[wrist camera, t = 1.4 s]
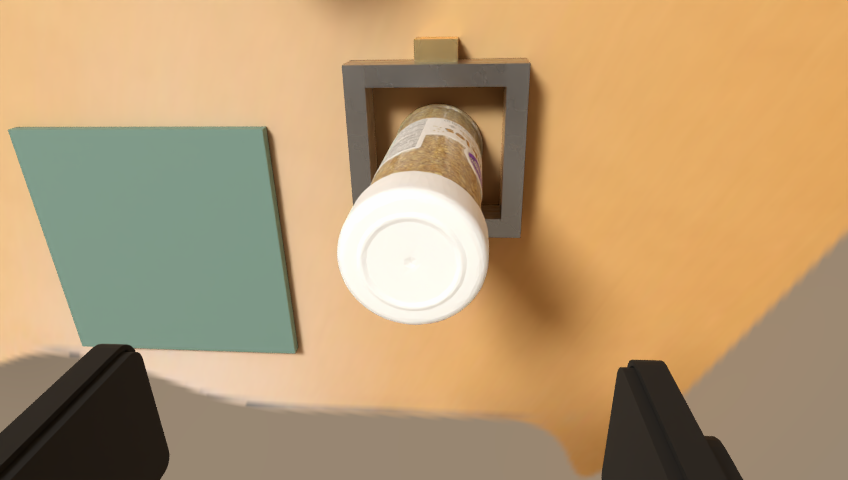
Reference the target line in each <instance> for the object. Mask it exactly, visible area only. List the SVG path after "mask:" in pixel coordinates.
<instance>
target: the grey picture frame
mask: <svg viewBox="0 0 848 480" xmlns="http://www.w3.org/2000/svg"><path fill="white" fill-rule="evenodd" d="M342 74H343V86H344V98H345V110H346V123H347V135H348V147H349V160H350V172H351V184H352V197H353V205H354V204H355V202H356V200H357V199H358V197H359V196H360V195H361V194H362V193H363V192H364V191H365V190H366V189H367V188H368V187H369V186H370V185H371V182H372V180H373V178H374V175H375V174H376V172H377V170H378V169H377V152H376V135H375V118H374V102H373V88H397V87H504V104H503V129H502V154H501V179H500V204H499V205H481V211H482V213H483V216H484V218H485V221H486V224H487V229H488V237H499V238H520V234H521V217H522V199H523V182H524V165H525V148H526V131H527V114H528V97H529V80H530V62H529V61H528V59H527V58H499V59H458V37H422V38H415V39H414V60H351V61H349V62H347V63H345V64H344V65H342Z"/></svg>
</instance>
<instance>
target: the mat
mask: <svg viewBox="0 0 848 480" xmlns="http://www.w3.org/2000/svg"><path fill="white" fill-rule="evenodd" d="M8 132H9V134H10V137H11V140H12V143H13V146H14V149H15V152H16V155H17V158H18V161H19V163H20V166H21V169H22V172H23V175H24V178H25V181H26V184H27V187H28V189H29V192H30V195H31V198H32V201H33V204H34V207H35V210H36V213H37V216H38V218H39V221H40V224H41V227H42V230H43V233H44V236H45V239H46V242H47V244H48V247H49V250H50V253H51V256H52V259H53V262H54V265H55V268H56V270H57V273H58V276H59V279H60V282H61V285H62V288H63V291H64V294H65V297H66V299H67V302H68V305H69V308H70V311H71V314H72V317H73V320H74V323H75V325H76V328H77V331H78V334H79V337H80V340H81V343H82V346H90V347H95V346H96V345H98V344H128V345H131V346H132V347H133V348H149V349H178V350H207V351H236V352H266V353H296V351H297V349H298V344H297V337H296V330H295V323H294V316H293V309H292V302H291V295H290V288H289V282H288V275H287V268H286V261H285V254H284V247H283V240H282V233H281V226H280V219H279V212H278V205H277V198H276V191H275V184H274V177H273V170H272V163H271V156H270V149H269V143H268V136H267V129H266V127H16V128H12V129H9V130H8Z"/></svg>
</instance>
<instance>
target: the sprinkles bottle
mask: <svg viewBox="0 0 848 480" xmlns="http://www.w3.org/2000/svg"><path fill="white" fill-rule="evenodd" d="M482 154H483V140H482V136H481V134H480V131H479V128H478V126H477V125H476V123H475V122H474V121H473V120H472V118H471V117H470V116H469V115H468V114H466V113H465V112H463V111H462V110H460V109H459V108H457V107H454V106H451V105H447V104H431V105H426V106H424V107H420V108H418V109H416V110H415V111H414V112H413V113H411V114H410V115H408V117H407V118H406V119H405V120H404V121H403V122H402V124H401V126H400V128H399V130H398V133H397V136H396V138H395V139H394V141H393V143H392V144H391V146H390V148H389V150H388V152H387V154H386V155H385V157H384V159H383V161H382V163H381V165H380V166H379V168H378V170H377V172H376V174H375V175H374V178H373V180H372V182H371V185H370V186H369V187H368V188H367V189H366V190H365V191H364V192H363V193H362V194H361V195H360V196H359V197H358V199H357V200H356V202H355V204H354V205H353V207H352V209H351V211H350V213H349V215H348V217H347V219H346V221H345V223H344V225H343V227H342V230H341V232H340V236H339V240H338V248H337V259H338V264H339V269H340V272H341V275H342V277H343V280H344V282H345V284H346V286H347V287H348V289H349V290H350V292H351V293H352V295H353V296H354V297H355V298H356V299H357V300H358V301H359V302H360V303H361V304H362V305H363V306H364V307H366V308H367V309H369V310H370V311H371V312H373V313H375V314H376V315H378V316H380V317H383V318H385V319H388V320H390V321H394V322H398V323H403V324H413V325H421V324H429V323H435V322H439V321H442V320H445V319H447V318H449V317H451V316H453V315H455V314H457V313H458V312H460V311H461V310H463V309H464V308H465V307H466V306H467V305H469V303H470V302H471V301H472V300H473V299H474V298H475V297H476V295H477V294H478V292H479V291H480V289H481V287H482V285H483V283H484V280H485V278H486V274H487V270H488V262H489V239H488V229H487V224H486V221H485V218H484V216H483V213H482V211H481V202H482V159H481V158H482Z"/></svg>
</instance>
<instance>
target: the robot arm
mask: <svg viewBox="0 0 848 480" xmlns="http://www.w3.org/2000/svg"><path fill="white" fill-rule="evenodd" d="M168 463H169V450H168V446H167V443H166V439H165V436H164V432H163V429H162V425H161V421H160V418H159V414H158V411H157V407H156V404H155V401H154V397H153V393H152V390H151V386H150V383H149V379H148V376H147V372H146V369H145V365H144V362H143V358H142V356H141V354H140V353H138V352H135V350H134V348H133V347H132V346H131V345H128V344H98V345H96V346H95V347H93V348H92V349H91V350H90V351H89V352H88V353H87V354H86V355H84V356H83V357H82V358H81V359H80V360H79V361H78V362H77V363H76V364H75V365H74V366H73V367H72V368H70V369H69V370H68V371H67V372H66V373H65V374H64V375H63V376H62V377H61V378H60V379H58V380H57V381H56V382H55V383H54V384H53V385H52V386H51V387H50V388H49V389H48V390H47V391H46V392H44V393H43V394H42V395H41V396H40V397H39V398H38V399H37V400H36V401H35V402H34V403H33V404H31V405H30V406H29V407H28V408H27V409H26V410H25V411H24V412H23V413H22V414H21V415H19V416H18V417H17V418H16V419H15V420H14V421H13V422H12V423H11V424H10V425H9V426H8V427H6V428H5V429H4V430H3V431H2V432H1V433H0V480H160V479H161V477H162V476H163V474H164V473H165V471H166V469H167V466H168ZM602 480H743V479H742V477H741V476H740V473H739V472H738V470H737V468H736V466H735V465H734V463H733V461H732V459H731V458H730V456H729V454H728V452H727V450H726V449H725V447H724V446H723V444H722V443H721V441H720V440H719V439H717V438H716V437H713V436H704V435H703V433H702V431H701V429H700V428H699V426H698V424H697V422H696V420H695V418H694V416H693V414H692V412H691V411H690V409H689V407H688V405H687V403H686V401H685V399H684V397H683V396H682V394H681V392H680V390H679V388H678V386H677V384H676V382H675V381H674V379H673V377H672V375H671V373H670V371H669V369H668V367H667V366H666V364H665V363H664V362H663V361H656V360H630V361H629V363H628V366H627V367H620V368H619V369H618V372H617V378H616V384H615V391H614V397H613V404H612V410H611V417H610V423H609V429H608V436H607V442H606V449H605V455H604V462H603V468H602Z"/></svg>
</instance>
